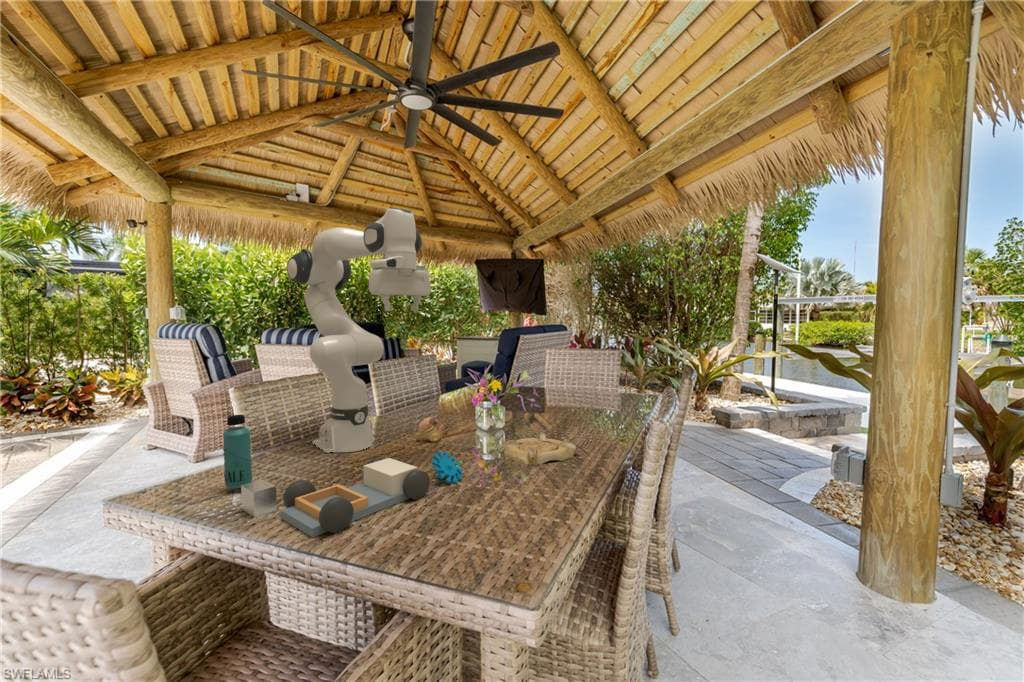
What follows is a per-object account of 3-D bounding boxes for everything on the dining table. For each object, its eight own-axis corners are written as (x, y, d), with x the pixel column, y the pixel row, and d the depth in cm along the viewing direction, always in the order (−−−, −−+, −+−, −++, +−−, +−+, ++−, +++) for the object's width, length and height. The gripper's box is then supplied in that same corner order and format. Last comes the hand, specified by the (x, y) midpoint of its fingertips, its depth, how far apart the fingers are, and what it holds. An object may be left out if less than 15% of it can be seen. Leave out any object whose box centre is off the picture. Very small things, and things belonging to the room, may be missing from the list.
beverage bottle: (249, 482, 128) (246, 411, 127) (256, 489, 124) (253, 415, 122) (221, 489, 124) (218, 415, 122) (228, 496, 119) (225, 419, 118)
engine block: (242, 509, 112) (241, 485, 111) (263, 502, 116) (262, 479, 115) (254, 517, 107) (253, 492, 107) (276, 510, 111) (275, 486, 111)
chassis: (277, 516, 108) (276, 486, 107) (391, 477, 133) (391, 453, 132) (317, 540, 97) (316, 508, 96) (434, 492, 121) (433, 466, 121)
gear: (445, 483, 124) (428, 451, 128) (432, 495, 126) (417, 464, 130) (472, 477, 132) (456, 447, 137) (460, 488, 135) (444, 459, 139)
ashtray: (584, 464, 145) (584, 448, 144) (509, 468, 141) (509, 452, 140) (563, 442, 168) (563, 428, 168) (498, 445, 164) (498, 431, 164)
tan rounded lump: (449, 442, 169) (437, 428, 162) (424, 455, 168) (412, 442, 162) (442, 424, 175) (431, 410, 169) (419, 437, 175) (407, 423, 168)
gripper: (421, 266, 147) (422, 310, 148) (365, 261, 131) (366, 311, 132) (435, 265, 143) (435, 310, 144) (378, 260, 127) (379, 311, 128)
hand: (401, 310), depth 138 cm, fingers open, 8 cm apart
